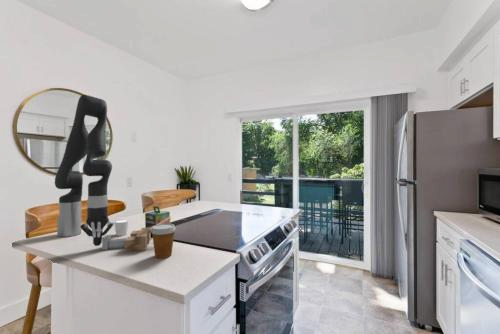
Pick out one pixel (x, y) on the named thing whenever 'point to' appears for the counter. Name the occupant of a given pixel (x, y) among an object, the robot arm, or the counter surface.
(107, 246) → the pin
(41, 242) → the counter surface
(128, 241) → the hitch block
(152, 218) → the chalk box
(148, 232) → the keeper flap
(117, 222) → the white cup
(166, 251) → the disposable coffee cup
